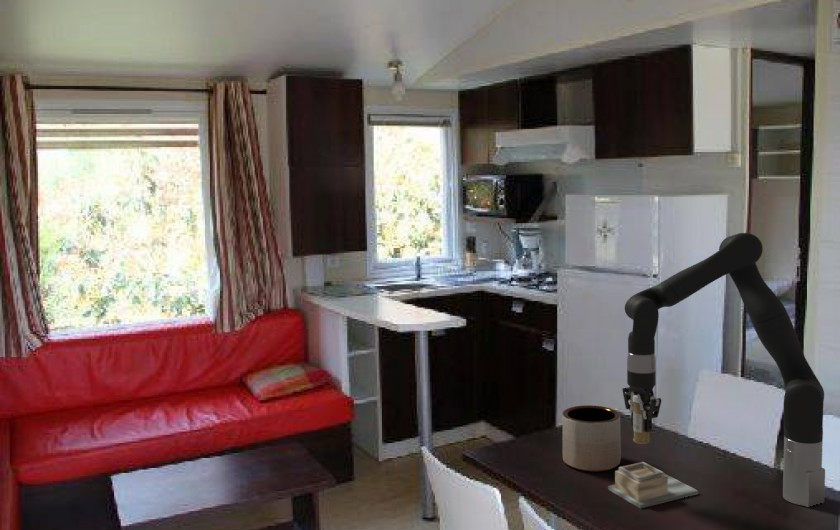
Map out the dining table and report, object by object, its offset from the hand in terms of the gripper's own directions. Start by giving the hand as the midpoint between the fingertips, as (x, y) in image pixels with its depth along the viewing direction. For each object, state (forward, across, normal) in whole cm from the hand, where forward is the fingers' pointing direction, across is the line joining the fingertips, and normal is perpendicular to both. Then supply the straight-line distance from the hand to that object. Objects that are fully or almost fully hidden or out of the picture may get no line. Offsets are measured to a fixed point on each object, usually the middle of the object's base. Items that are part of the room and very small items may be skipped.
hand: (641, 428), depth 208 cm
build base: (+19, 0, -4) cm, 19 cm away
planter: (+19, +26, -2) cm, 32 cm away
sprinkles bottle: (+4, 0, 0) cm, 4 cm away
